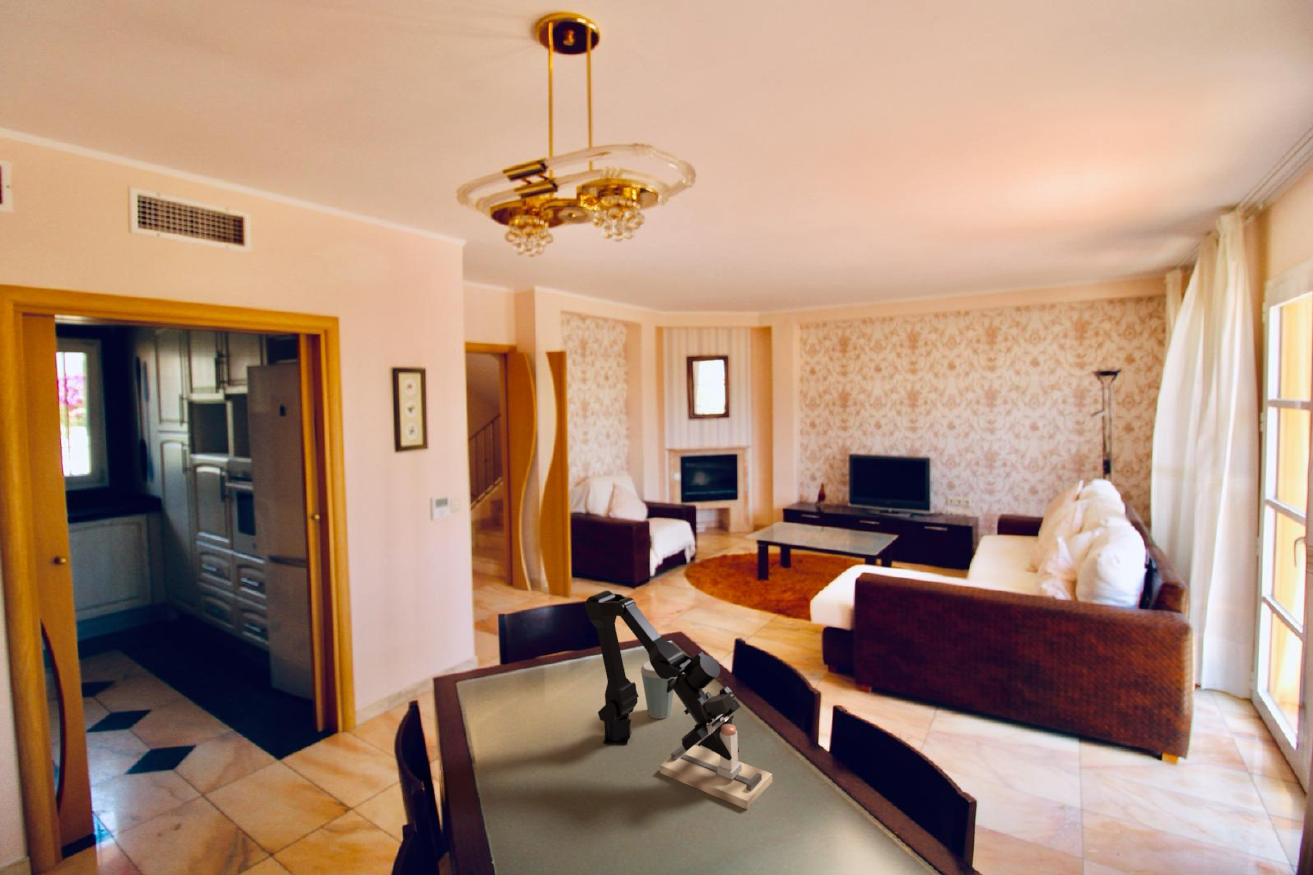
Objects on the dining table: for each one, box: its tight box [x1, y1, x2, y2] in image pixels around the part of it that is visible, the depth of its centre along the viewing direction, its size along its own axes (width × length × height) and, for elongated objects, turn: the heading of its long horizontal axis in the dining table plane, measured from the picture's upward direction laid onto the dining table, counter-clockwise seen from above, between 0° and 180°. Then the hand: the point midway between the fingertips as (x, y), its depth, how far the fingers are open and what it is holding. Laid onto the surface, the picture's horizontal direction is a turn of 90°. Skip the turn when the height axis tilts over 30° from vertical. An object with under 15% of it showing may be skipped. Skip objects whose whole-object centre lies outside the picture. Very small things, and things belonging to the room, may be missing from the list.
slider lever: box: [717, 723, 742, 780], centre depth 146 cm, size 4×4×11 cm
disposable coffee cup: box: [640, 659, 676, 720], centre depth 179 cm, size 11×11×15 cm
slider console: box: [659, 744, 773, 810], centre depth 148 cm, size 24×12×3 cm, turn 53°
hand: (734, 756), depth 145 cm, fingers closed on slider lever, 3 cm apart
